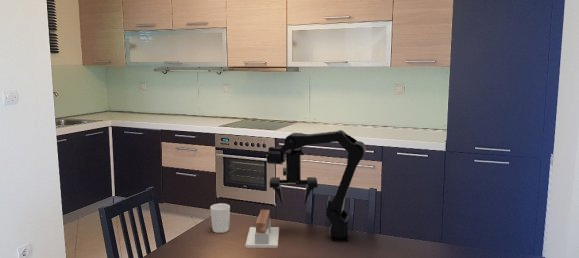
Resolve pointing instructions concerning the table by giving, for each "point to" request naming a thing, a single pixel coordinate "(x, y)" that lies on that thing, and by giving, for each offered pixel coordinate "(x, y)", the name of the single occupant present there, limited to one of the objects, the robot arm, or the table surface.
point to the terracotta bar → (262, 221)
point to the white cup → (220, 217)
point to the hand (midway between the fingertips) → (293, 203)
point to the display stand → (263, 238)
